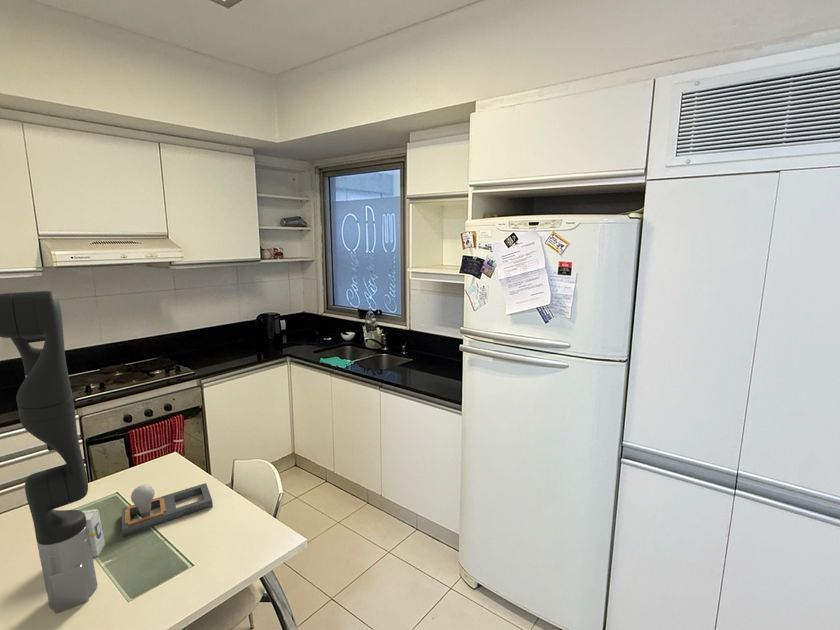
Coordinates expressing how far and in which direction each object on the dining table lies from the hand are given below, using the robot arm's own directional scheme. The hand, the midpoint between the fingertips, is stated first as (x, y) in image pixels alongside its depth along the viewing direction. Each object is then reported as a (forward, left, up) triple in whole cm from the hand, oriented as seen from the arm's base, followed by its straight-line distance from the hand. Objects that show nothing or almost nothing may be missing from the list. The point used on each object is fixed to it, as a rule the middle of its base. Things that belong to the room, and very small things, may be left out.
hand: (55, 443), depth 118 cm
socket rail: (-1, -24, -30) cm, 39 cm away
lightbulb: (-1, -18, -30) cm, 35 cm away
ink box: (-9, -3, -30) cm, 32 cm away
